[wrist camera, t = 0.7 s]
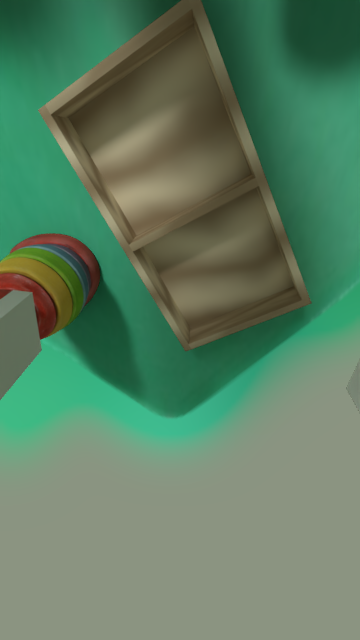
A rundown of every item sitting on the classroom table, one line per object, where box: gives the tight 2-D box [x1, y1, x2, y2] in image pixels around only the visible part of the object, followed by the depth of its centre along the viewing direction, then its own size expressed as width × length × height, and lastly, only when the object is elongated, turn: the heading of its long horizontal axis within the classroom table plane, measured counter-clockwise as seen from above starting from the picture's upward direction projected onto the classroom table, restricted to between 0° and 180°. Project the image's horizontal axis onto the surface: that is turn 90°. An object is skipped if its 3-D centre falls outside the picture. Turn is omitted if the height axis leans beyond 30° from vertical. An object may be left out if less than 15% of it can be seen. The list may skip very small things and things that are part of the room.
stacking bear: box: [0, 234, 100, 340], centre depth 32 cm, size 11×10×18 cm
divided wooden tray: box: [38, 0, 311, 351], centre depth 33 cm, size 28×16×4 cm, turn 28°
